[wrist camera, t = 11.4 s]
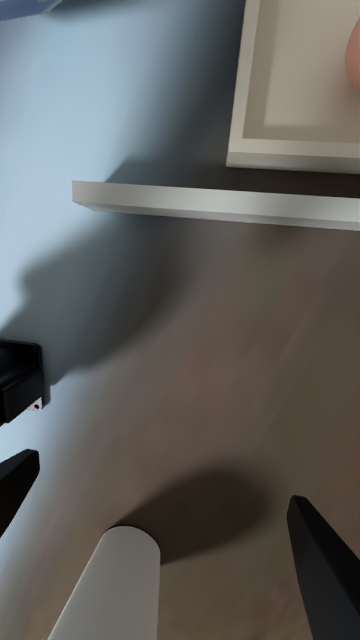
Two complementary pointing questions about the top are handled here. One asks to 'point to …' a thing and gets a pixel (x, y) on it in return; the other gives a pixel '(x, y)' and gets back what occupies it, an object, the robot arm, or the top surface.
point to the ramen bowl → (25, 8)
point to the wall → (220, 205)
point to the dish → (295, 88)
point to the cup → (115, 591)
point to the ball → (353, 57)
